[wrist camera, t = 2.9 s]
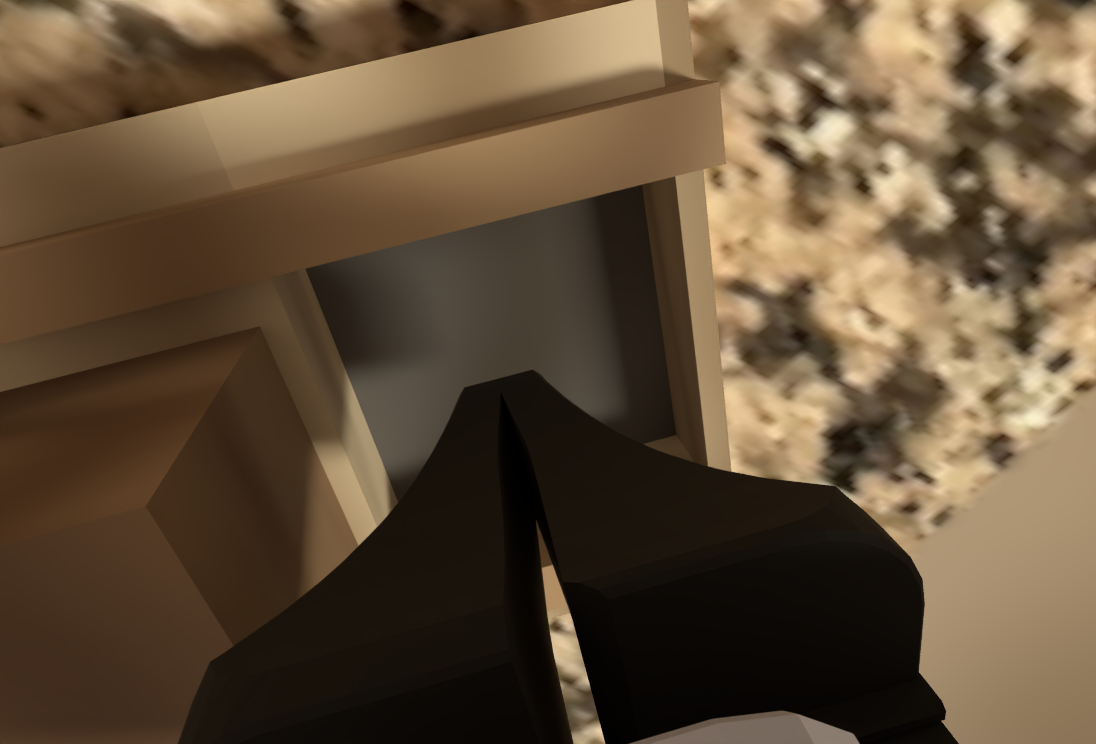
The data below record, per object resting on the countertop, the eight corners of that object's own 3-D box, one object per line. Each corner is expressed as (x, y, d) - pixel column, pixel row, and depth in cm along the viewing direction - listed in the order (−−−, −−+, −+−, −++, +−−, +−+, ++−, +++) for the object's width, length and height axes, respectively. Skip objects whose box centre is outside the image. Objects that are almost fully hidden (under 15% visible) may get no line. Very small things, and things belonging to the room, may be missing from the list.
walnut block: (114, 612, 13) (-48, 897, 9) (-39, 401, 11) (-368, 642, 6) (358, 545, 13) (323, 788, 9) (259, 326, 11) (146, 506, 7)
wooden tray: (30, 686, 17) (-63, 832, 13) (-367, 235, 11) (-676, 303, 8) (700, 500, 18) (758, 595, 14) (639, 1, 12) (711, -20, 9)
